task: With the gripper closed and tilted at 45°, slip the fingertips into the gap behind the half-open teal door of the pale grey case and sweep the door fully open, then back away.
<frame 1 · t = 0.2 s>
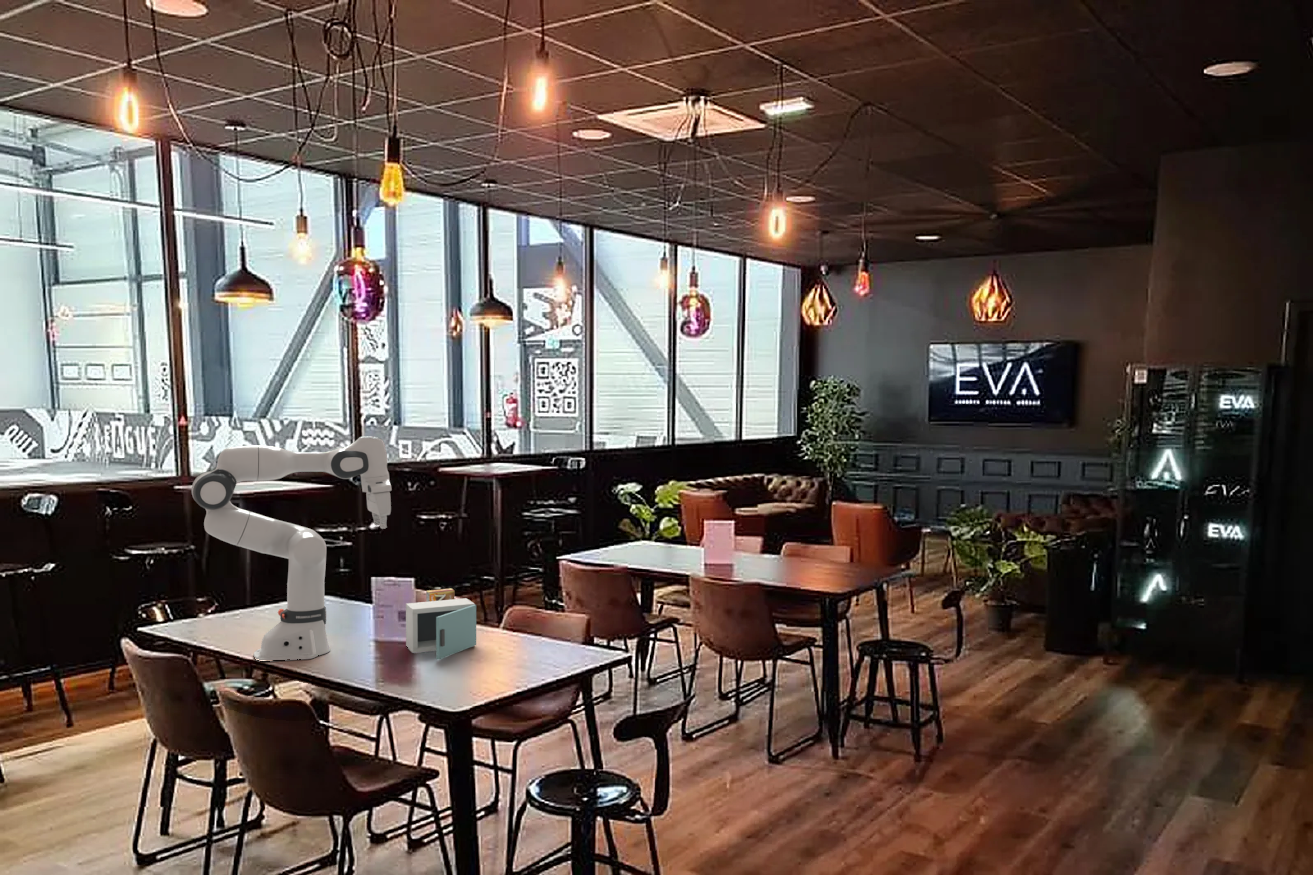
hand: (380, 526, 305), 39 cm above the table, tool pointing down, fingers open, 8 cm apart
candy box: (440, 635, 320), on the table
case: (440, 646, 304), on the table
door: (457, 631, 294), point 7 cm above the table, hinge at 40.0°
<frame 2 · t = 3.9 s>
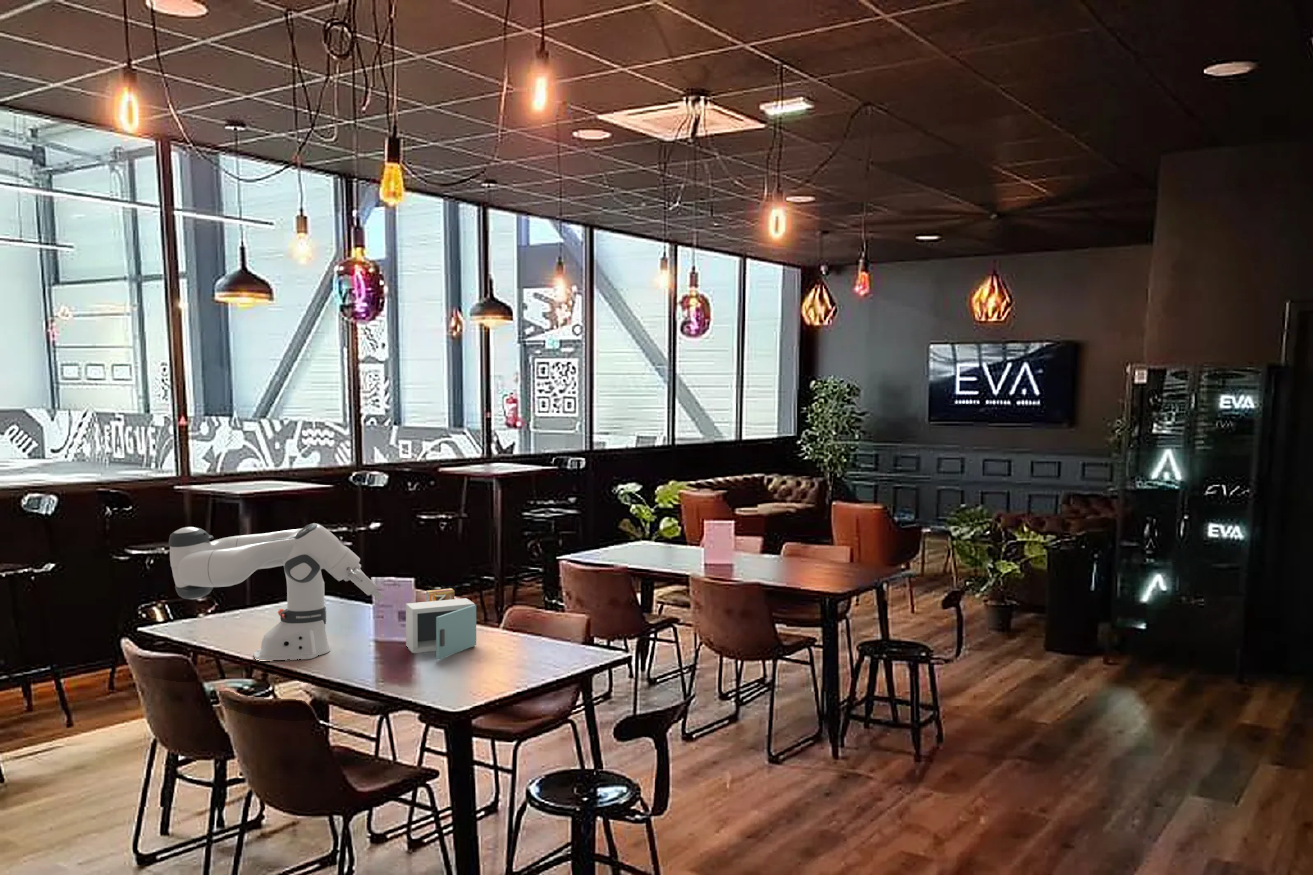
hand: (379, 596, 279), 21 cm above the table, tool tilted 45°, fingers open, 5 cm apart
nothing on the table moved.
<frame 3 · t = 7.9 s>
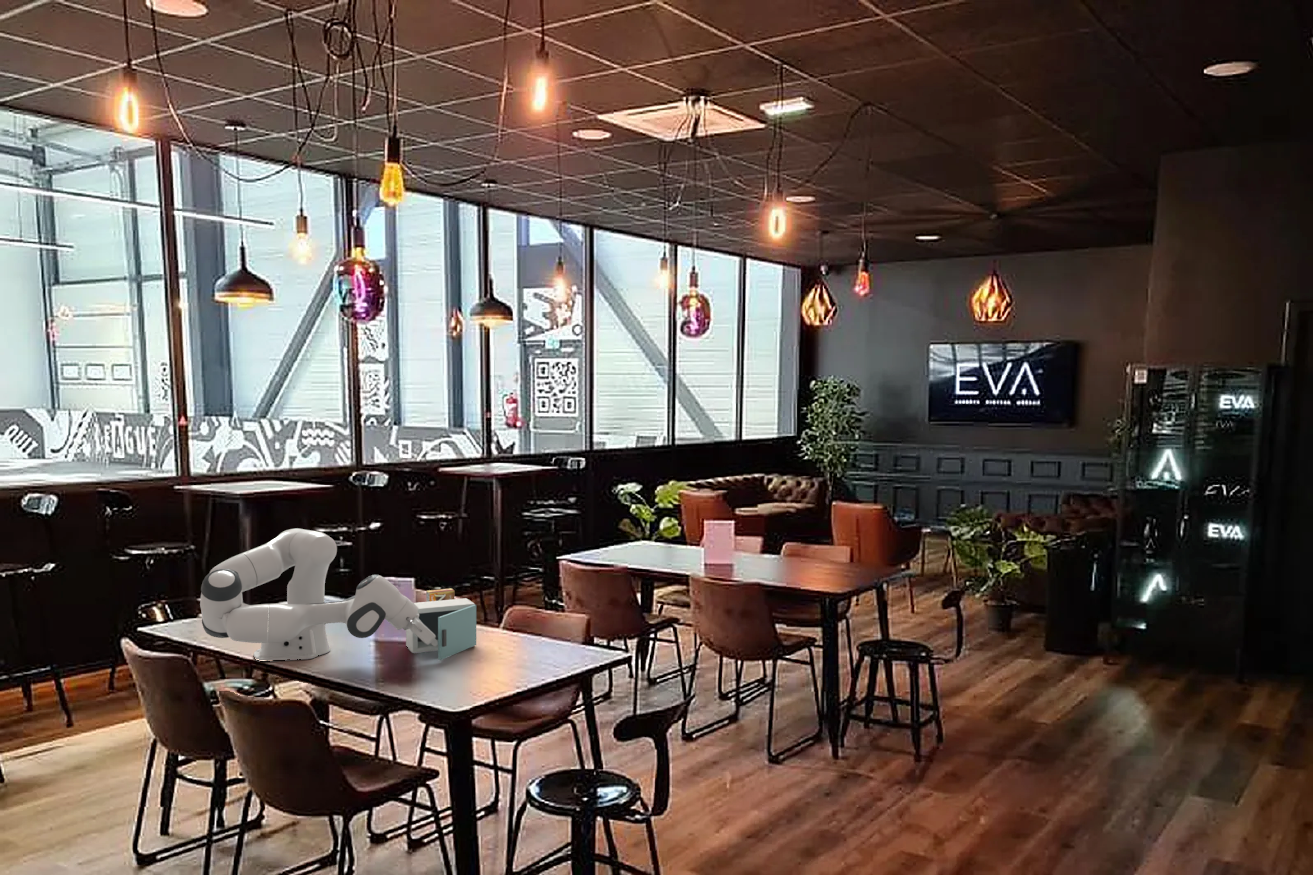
hand: (436, 643, 287), 5 cm above the table, tool tilted 45°, fingers closed
door: (458, 631, 294), point 7 cm above the table, hinge at 42.0°, touching gripper
everything else where it was.
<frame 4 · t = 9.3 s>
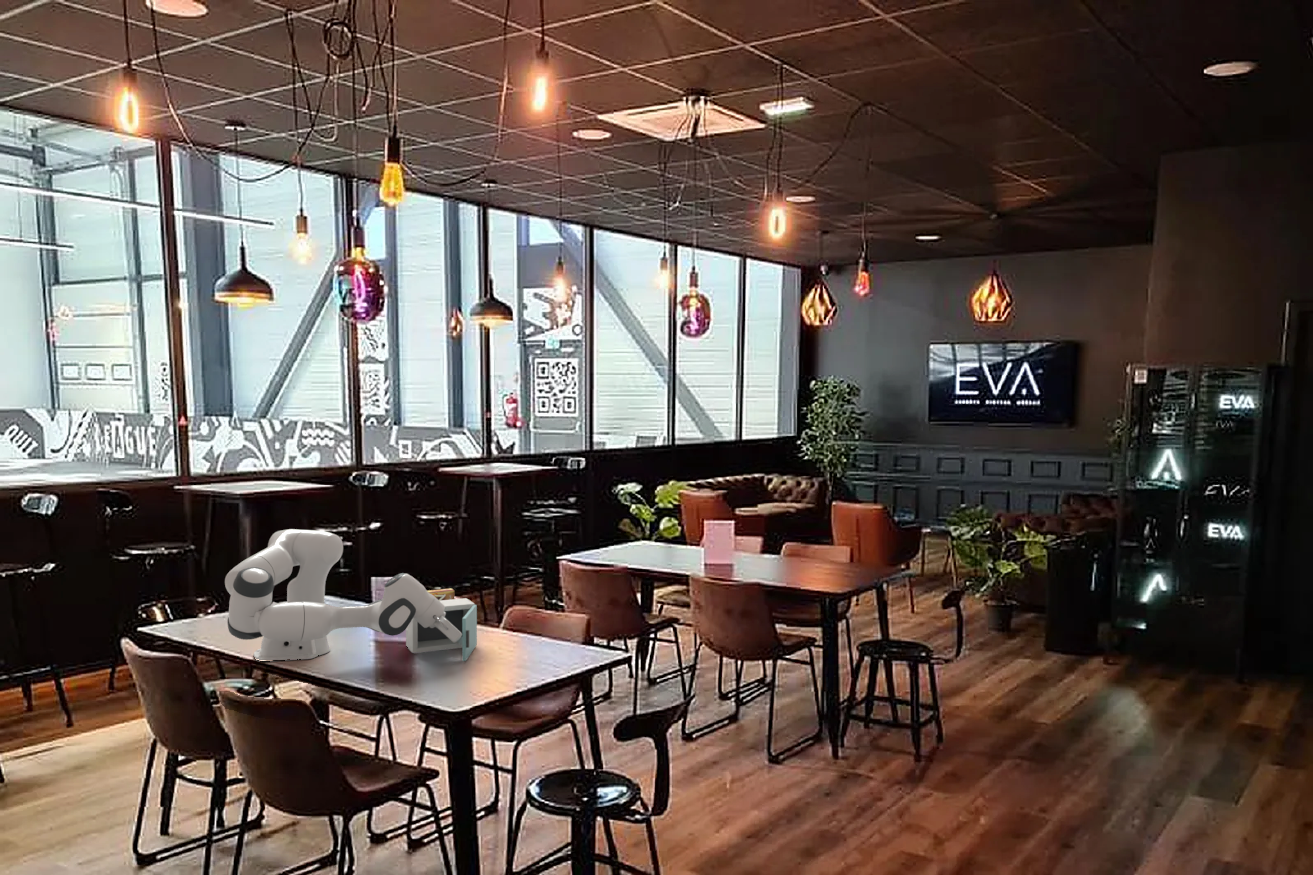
hand: (461, 642, 290), 5 cm above the table, tool tilted 45°, fingers closed
door: (471, 632, 293), point 7 cm above the table, hinge at 64.5°, touching gripper
everything else where it was.
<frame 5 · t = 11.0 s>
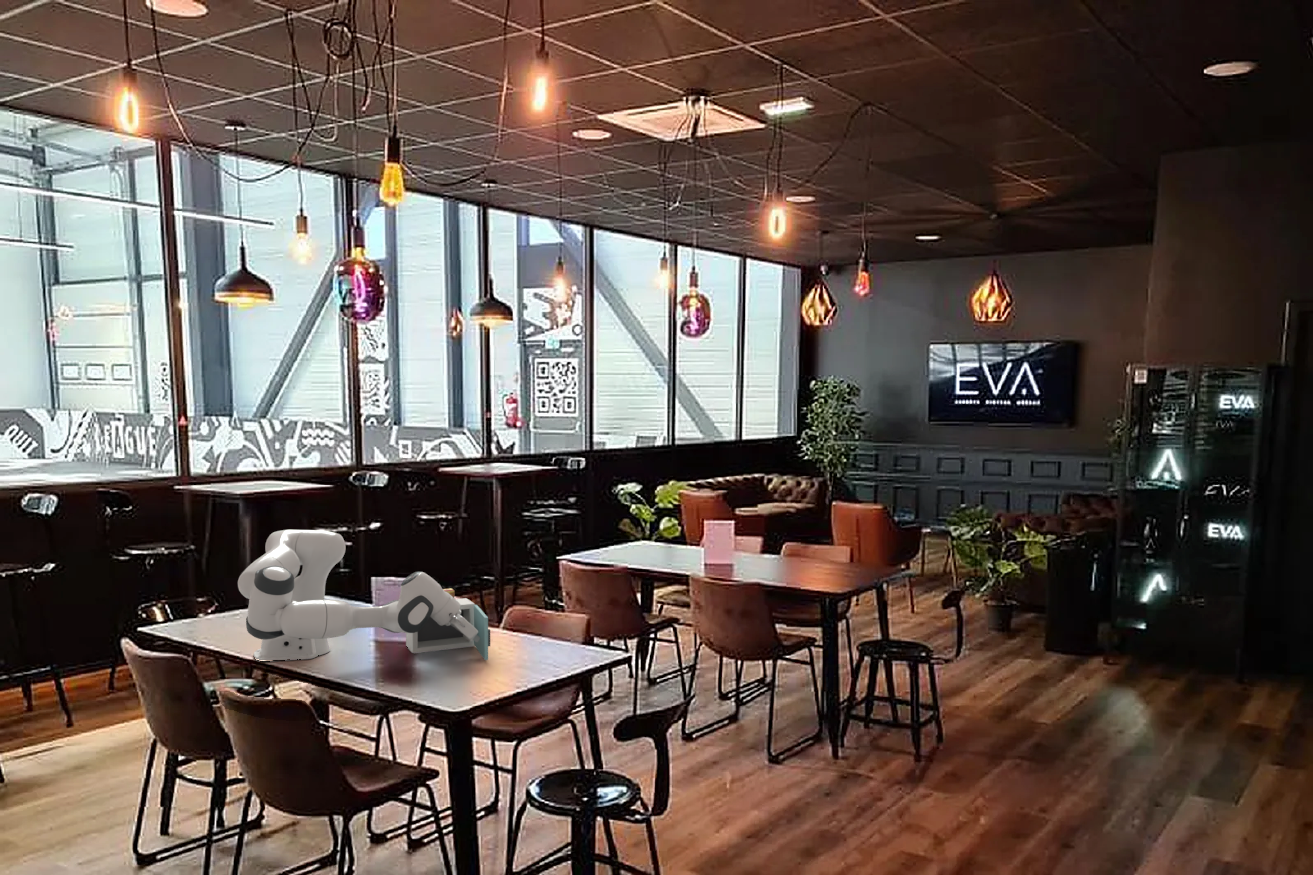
hand: (477, 639, 292), 5 cm above the table, tool tilted 45°, fingers closed
door: (482, 631, 294), point 7 cm above the table, hinge at 83.6°, touching gripper
everything else where it was.
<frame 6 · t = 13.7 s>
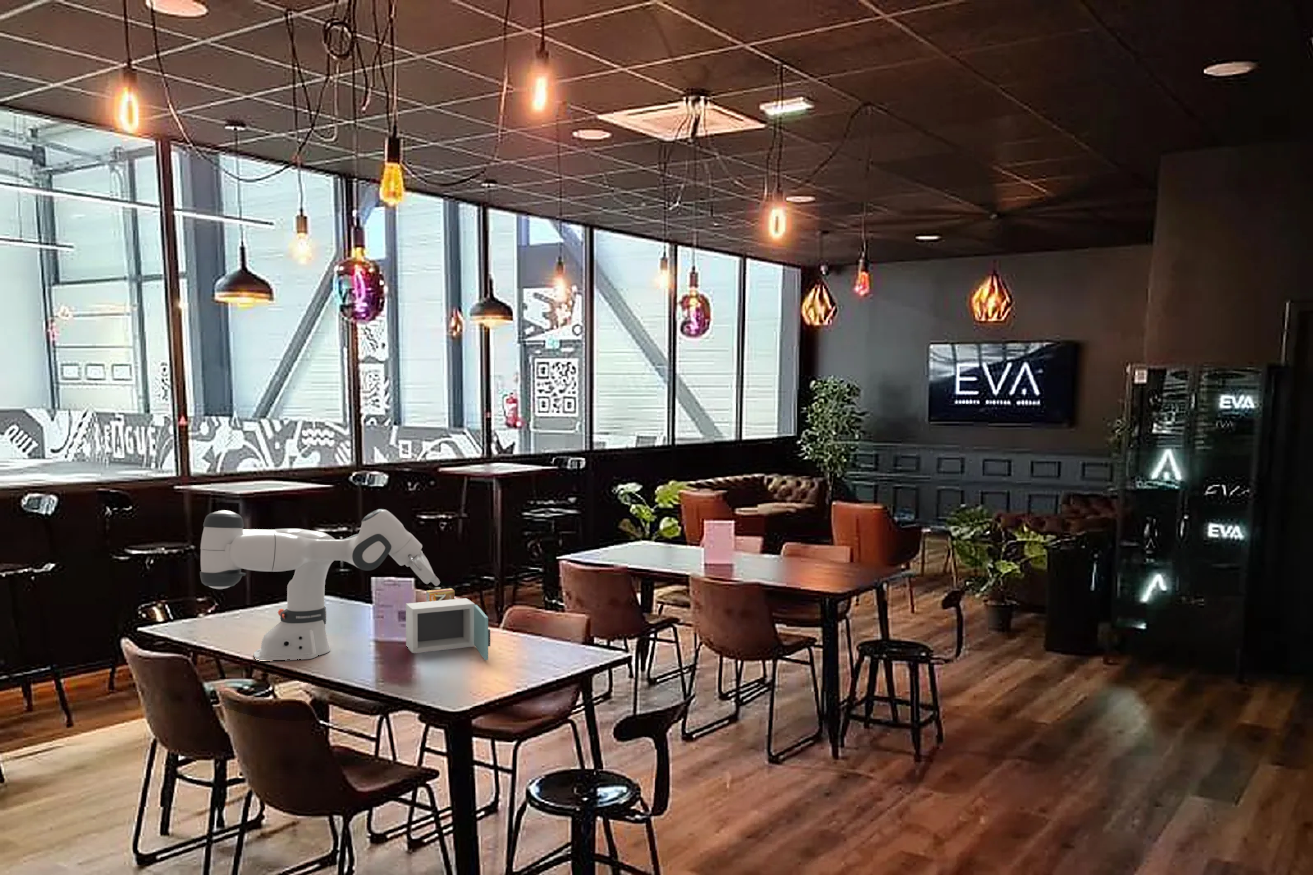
hand: (437, 583, 286), 24 cm above the table, tool tilted 40°, fingers closed
door: (482, 631, 294), point 7 cm above the table, hinge at 83.6°
everything else where it was.
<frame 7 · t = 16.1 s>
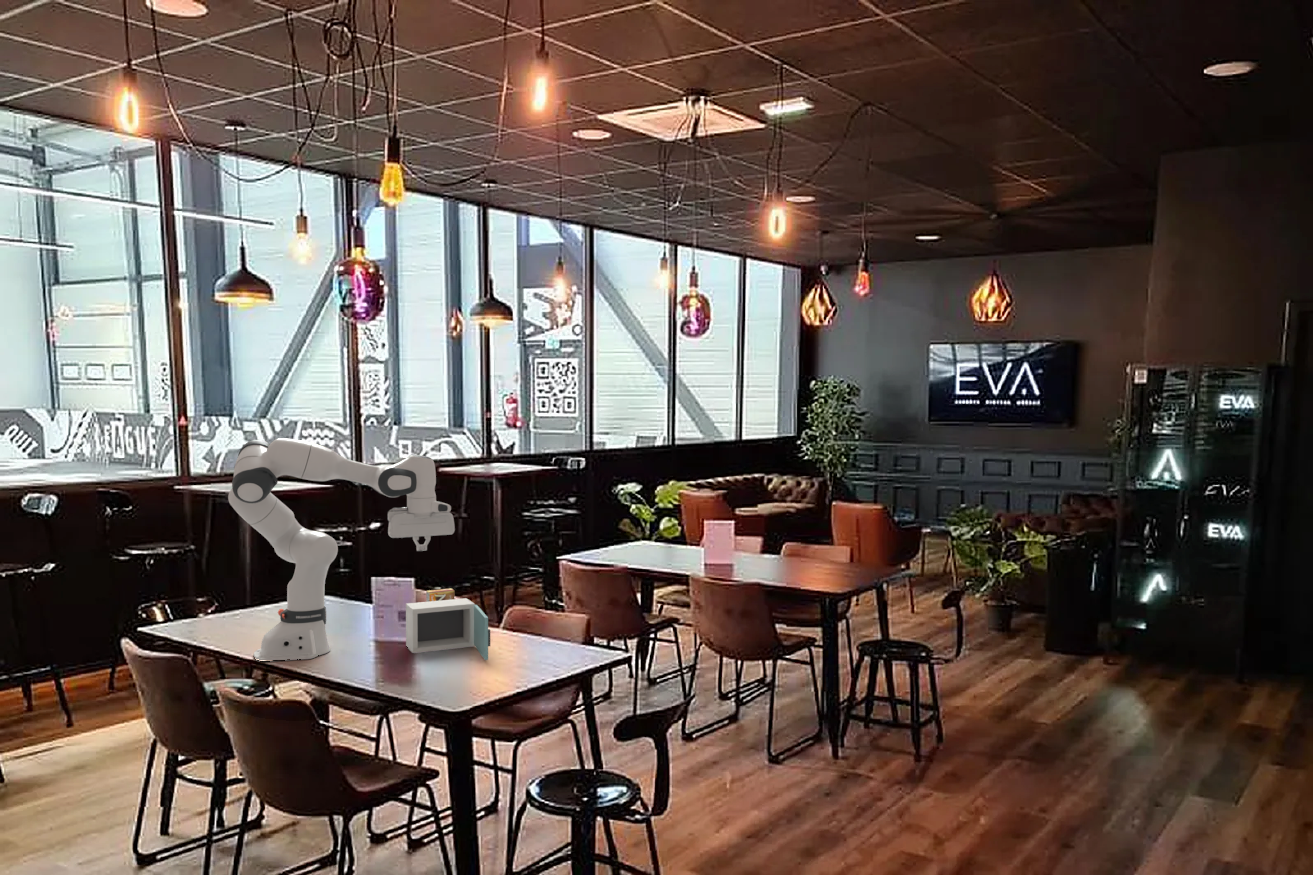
hand: (421, 550, 292), 33 cm above the table, tool pointing down, fingers closed
nothing on the table moved.
at the end: door at +84° (first picture: +40°) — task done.
